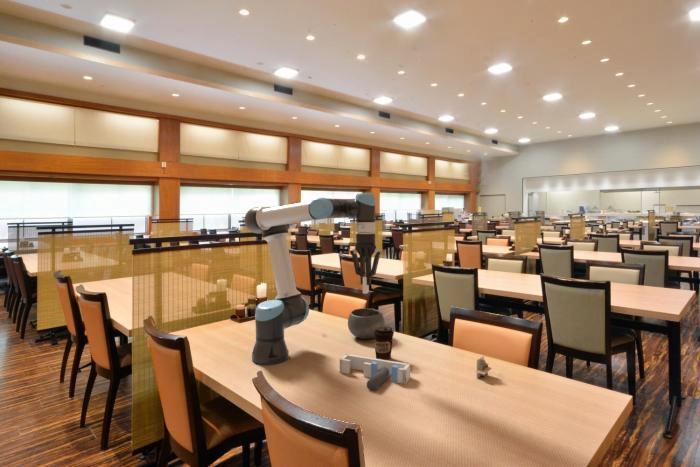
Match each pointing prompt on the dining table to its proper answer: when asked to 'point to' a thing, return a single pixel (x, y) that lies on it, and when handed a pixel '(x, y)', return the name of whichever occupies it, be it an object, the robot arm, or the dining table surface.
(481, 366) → the architectural model
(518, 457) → the dining table surface
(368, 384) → the dark gray cylinder
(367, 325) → the bowl
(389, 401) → the dining table surface
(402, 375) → the white u-shaped bracket
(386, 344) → the coffee cup
